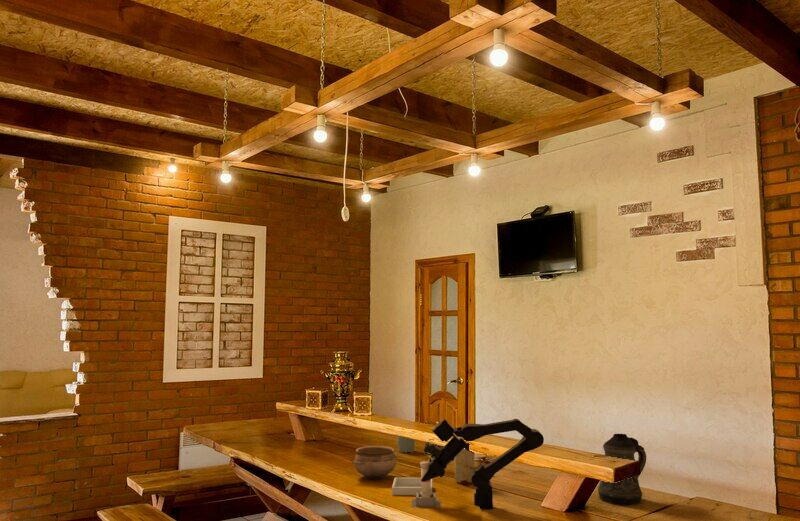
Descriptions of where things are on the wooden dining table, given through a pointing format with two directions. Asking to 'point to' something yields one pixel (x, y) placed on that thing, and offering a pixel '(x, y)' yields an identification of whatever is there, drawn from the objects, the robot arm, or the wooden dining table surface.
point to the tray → (407, 486)
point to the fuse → (427, 484)
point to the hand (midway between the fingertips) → (422, 479)
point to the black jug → (628, 488)
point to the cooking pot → (375, 461)
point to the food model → (464, 466)
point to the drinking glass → (405, 444)
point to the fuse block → (426, 501)
